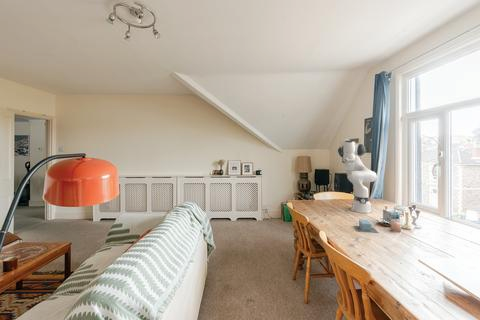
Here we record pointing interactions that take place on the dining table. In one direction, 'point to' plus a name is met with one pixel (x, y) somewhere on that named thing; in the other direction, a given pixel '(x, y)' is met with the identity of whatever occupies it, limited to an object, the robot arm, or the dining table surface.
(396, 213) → the light bulb box
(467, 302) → the dining table surface
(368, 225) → the block
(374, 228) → the mat
